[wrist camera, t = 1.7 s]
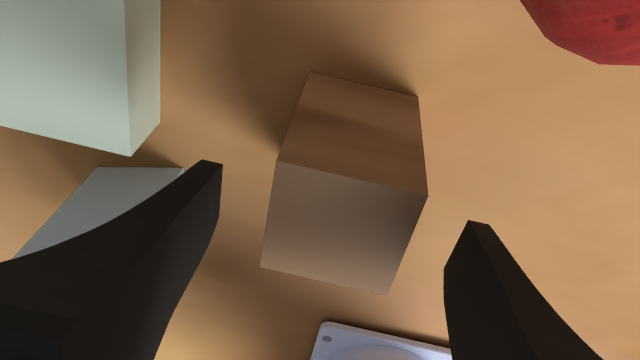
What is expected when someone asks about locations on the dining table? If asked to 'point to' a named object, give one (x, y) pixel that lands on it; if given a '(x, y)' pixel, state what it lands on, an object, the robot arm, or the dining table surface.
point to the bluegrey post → (100, 202)
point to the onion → (591, 28)
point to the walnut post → (346, 185)
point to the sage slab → (81, 70)
